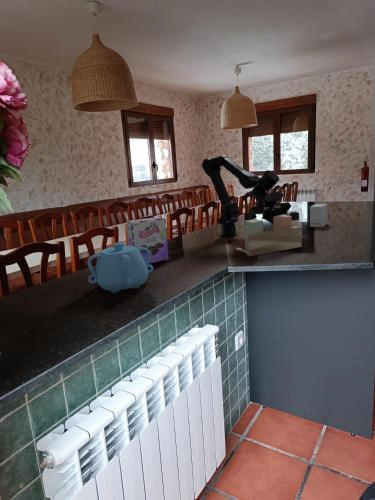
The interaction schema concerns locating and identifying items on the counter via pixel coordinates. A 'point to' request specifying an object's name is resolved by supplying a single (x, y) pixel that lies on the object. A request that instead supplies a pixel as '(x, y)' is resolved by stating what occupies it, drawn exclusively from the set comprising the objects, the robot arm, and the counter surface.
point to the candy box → (149, 237)
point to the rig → (273, 241)
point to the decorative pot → (120, 267)
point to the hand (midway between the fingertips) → (278, 226)
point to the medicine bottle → (294, 218)
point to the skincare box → (318, 215)
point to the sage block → (252, 228)
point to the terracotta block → (282, 222)
